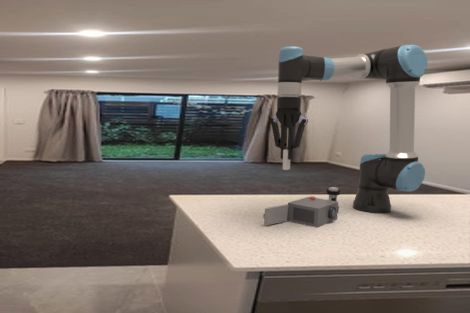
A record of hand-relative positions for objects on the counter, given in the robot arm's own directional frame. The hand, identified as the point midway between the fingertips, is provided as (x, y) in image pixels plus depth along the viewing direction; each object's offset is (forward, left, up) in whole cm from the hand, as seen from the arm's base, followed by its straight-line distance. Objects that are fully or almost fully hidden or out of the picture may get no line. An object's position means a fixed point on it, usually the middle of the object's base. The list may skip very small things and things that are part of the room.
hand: (286, 169), depth 131 cm
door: (0, -6, -19) cm, 20 cm away
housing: (-16, -7, -20) cm, 26 cm away
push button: (-29, -15, -20) cm, 38 cm away
